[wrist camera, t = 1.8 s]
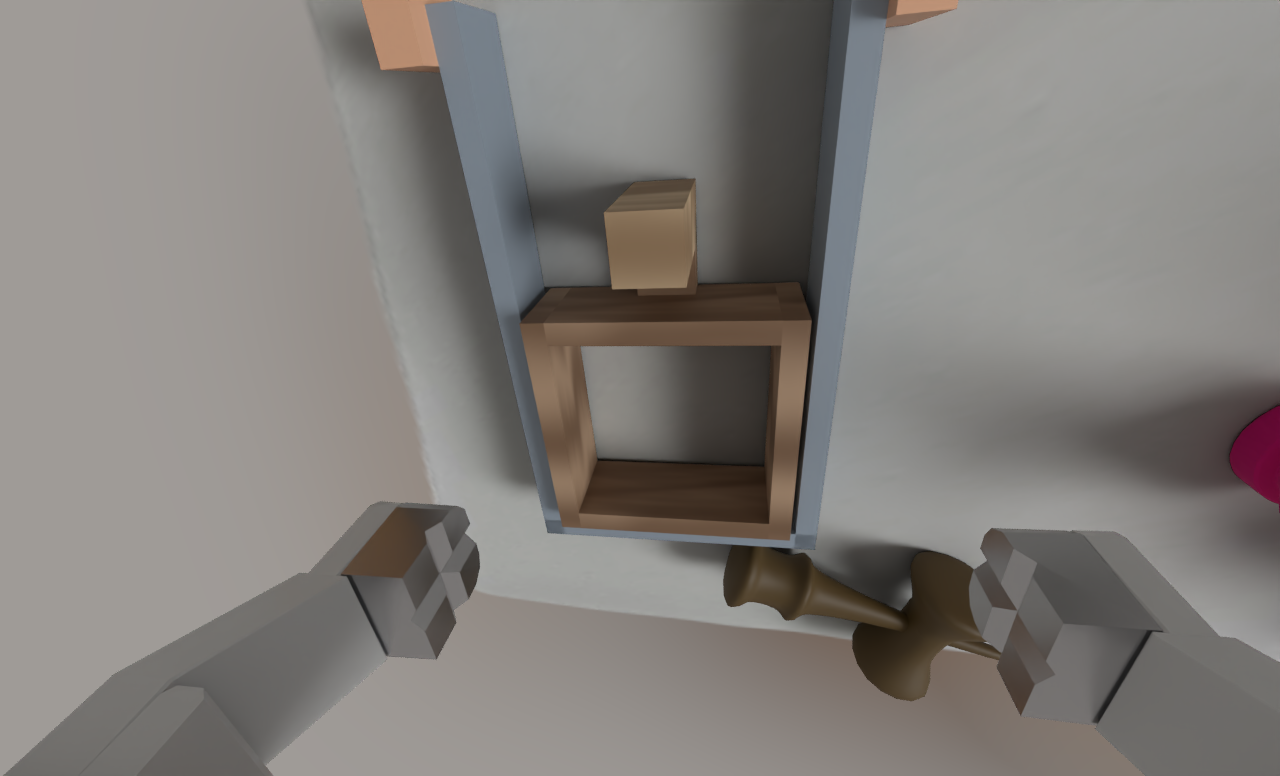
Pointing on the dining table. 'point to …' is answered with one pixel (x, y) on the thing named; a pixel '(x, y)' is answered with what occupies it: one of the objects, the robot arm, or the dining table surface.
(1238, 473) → the pepper mill
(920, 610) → the kendama
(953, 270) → the dining table surface
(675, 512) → the wooden square frame
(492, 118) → the frame
